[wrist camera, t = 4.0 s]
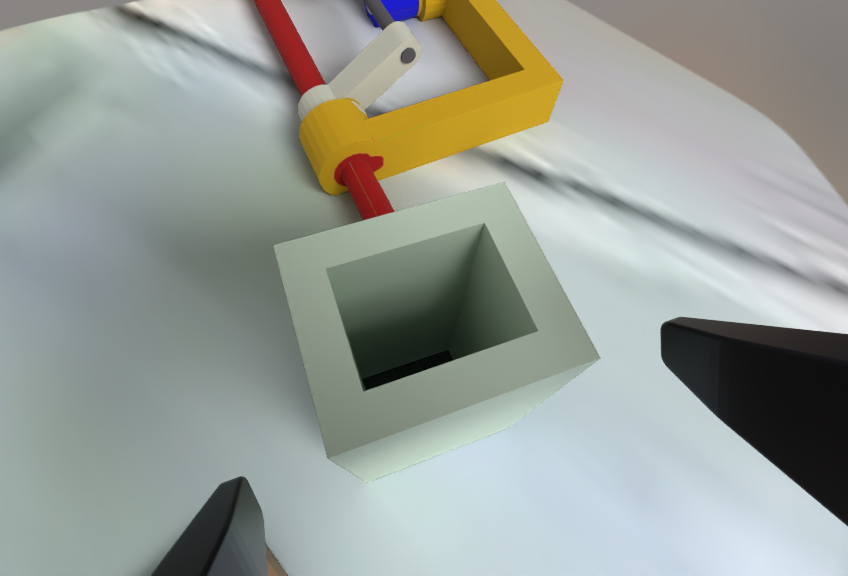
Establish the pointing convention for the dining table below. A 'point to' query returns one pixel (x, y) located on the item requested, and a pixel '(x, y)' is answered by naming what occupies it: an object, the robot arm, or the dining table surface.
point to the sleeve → (428, 328)
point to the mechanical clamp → (420, 123)
